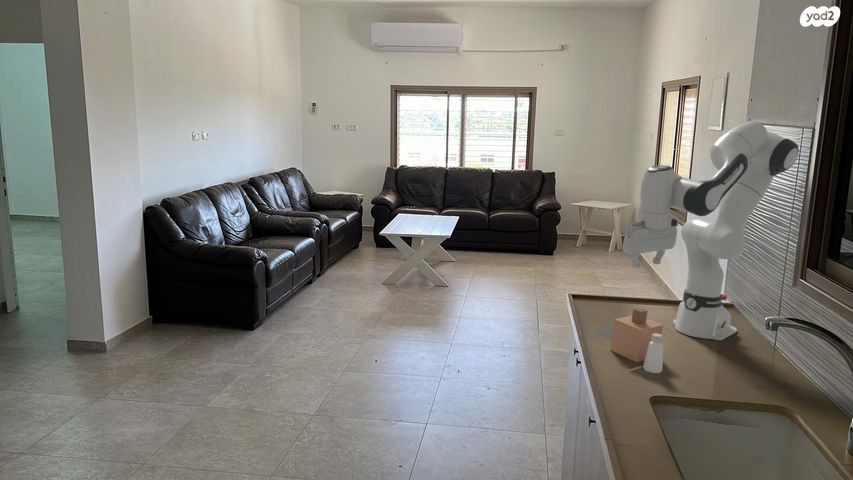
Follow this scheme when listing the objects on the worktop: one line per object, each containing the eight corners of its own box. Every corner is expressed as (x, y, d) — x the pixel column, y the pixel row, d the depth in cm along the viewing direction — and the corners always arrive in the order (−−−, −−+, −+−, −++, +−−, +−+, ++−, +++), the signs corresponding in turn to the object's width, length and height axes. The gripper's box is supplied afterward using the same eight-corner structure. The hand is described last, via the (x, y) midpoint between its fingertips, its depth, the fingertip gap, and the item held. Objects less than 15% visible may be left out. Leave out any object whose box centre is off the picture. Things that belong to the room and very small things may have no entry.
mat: (616, 327, 220) (616, 326, 220) (643, 339, 210) (644, 338, 210) (593, 333, 213) (593, 331, 213) (620, 345, 204) (620, 343, 204)
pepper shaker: (662, 375, 183) (667, 339, 181) (642, 371, 185) (647, 336, 183) (662, 367, 188) (667, 333, 186) (643, 364, 190) (647, 330, 188)
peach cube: (631, 346, 204) (637, 302, 201) (658, 357, 196) (664, 312, 192) (610, 351, 199) (616, 306, 195) (636, 363, 190) (643, 317, 187)
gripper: (638, 224, 179) (631, 271, 182) (682, 220, 190) (676, 264, 193) (620, 220, 184) (614, 266, 187) (665, 216, 195) (658, 259, 198)
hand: (646, 265), depth 191 cm, fingers open, 8 cm apart
